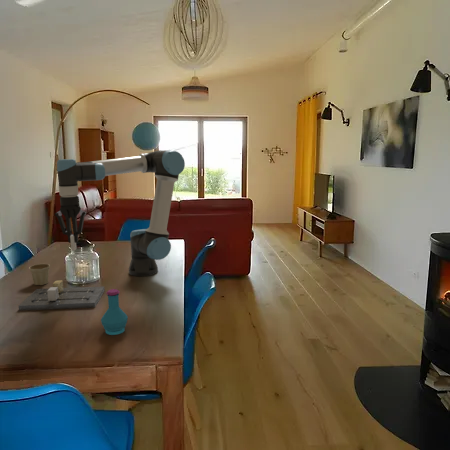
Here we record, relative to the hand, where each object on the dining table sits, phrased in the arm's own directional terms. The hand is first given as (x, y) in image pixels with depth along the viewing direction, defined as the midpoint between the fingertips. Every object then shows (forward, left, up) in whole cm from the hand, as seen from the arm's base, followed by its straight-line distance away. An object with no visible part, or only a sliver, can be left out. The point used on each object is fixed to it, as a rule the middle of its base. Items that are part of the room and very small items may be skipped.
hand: (74, 249), depth 173 cm
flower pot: (+22, -19, -21) cm, 36 cm away
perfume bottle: (-23, +38, -21) cm, 49 cm away
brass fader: (+8, 0, -19) cm, 21 cm away
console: (+4, +5, -21) cm, 22 cm away
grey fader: (+7, +9, -19) cm, 22 cm away
